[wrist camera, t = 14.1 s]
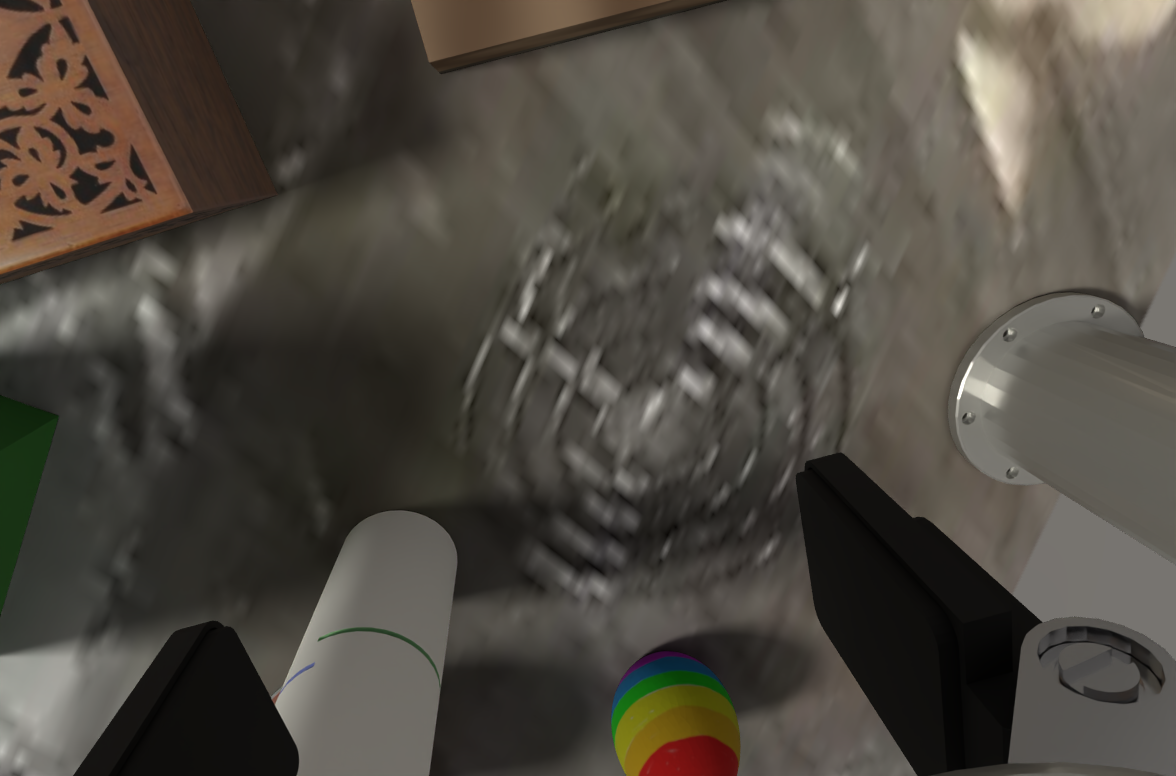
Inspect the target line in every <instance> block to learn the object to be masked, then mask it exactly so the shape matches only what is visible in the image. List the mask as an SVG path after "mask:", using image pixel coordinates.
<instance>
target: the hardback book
mask: <svg viewBox="0 0 1176 776" xmlns="http://www.w3.org/2000/svg"><path fill="white" fill-rule="evenodd" d="M58 418H59V416H57V415H55V414H52V413H49V412H46V411H44V410H41V409H38V408H35V407H32V406H30V405H27V404H24V403H21V402H18V401H16V400H13V399H10V398H7V397H4V396H2V395H0V615H1V612H2V609H3V605H4V602H5V598H6V595H7V592H8V588H9V585H10V581H11V578H12V575H13V571H14V568H15V564H16V561H17V558H18V554H19V551H20V547H21V544H22V540H23V537H24V534H25V530H26V527H27V523H28V520H29V517H30V513H31V510H32V506H33V503H34V500H35V496H36V493H37V489H38V486H39V483H40V479H41V476H42V472H43V469H44V466H45V462H46V459H47V455H48V452H49V448H50V445H51V442H52V438H53V435H54V431H55V428H56V425H57V421H58Z"/></svg>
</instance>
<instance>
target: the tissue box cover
mask: <svg viewBox="0 0 1176 776" xmlns="http://www.w3.org/2000/svg"><path fill="white" fill-rule="evenodd" d="M276 195H278V194H277V192H276V190H275V188H274V186H273V183H272V181H271V179H270V177H269V174H268V172H267V170H266V168H265V166H264V163H263V161H262V159H261V157H260V155H259V152H258V150H257V148H256V146H255V143H254V141H253V139H252V137H251V135H250V132H249V130H248V128H247V126H246V124H245V121H244V119H243V117H242V115H241V112H240V110H239V108H238V106H237V104H236V101H235V99H234V97H233V95H232V93H231V90H230V88H229V86H228V84H227V82H226V79H225V77H224V75H223V73H222V70H221V68H220V66H219V64H218V62H217V59H216V57H215V55H214V53H213V51H212V48H211V46H210V44H209V42H208V39H207V37H206V35H205V33H204V31H203V28H202V26H201V24H200V22H199V20H198V17H197V15H196V13H195V11H194V8H193V6H192V4H191V2H190V0H0V284H3V283H6V282H9V281H12V280H15V279H19V278H22V277H25V276H28V275H31V274H34V273H37V272H40V271H43V270H46V269H50V268H53V267H56V266H59V265H62V264H65V263H68V262H71V261H74V260H77V259H81V258H84V257H87V256H90V255H93V254H96V253H99V252H102V251H105V250H108V249H112V248H115V247H118V246H121V245H124V244H127V243H130V242H133V241H136V240H139V239H143V238H146V237H149V236H152V235H155V234H158V233H161V232H164V231H167V230H170V229H174V228H177V227H180V226H183V225H186V224H189V223H192V222H195V221H198V220H201V219H205V218H208V217H211V216H214V215H217V214H220V213H223V212H226V211H229V210H233V209H236V208H239V207H242V206H245V205H248V204H251V203H254V202H257V201H260V200H264V199H267V198H270V197H273V196H276Z"/></svg>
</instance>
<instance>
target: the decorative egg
mask: <svg viewBox="0 0 1176 776" xmlns="http://www.w3.org/2000/svg"><path fill="white" fill-rule="evenodd" d="M611 726H612V735H613V741H614V746H615V749H616V752H617V756H618V758H619V761H620V763H621V765H622V768H623V770H624V772H625V774H626V775H627V776H737V772H738V767H739V761H740V733H739V726H738V721H737V716H736V713H735V710H734V707H733V704H732V701H731V699H730V697H729V695H728V693H727V691H726V689H725V688H724V686H723V684H722V683H721V681H720V680H719V679H718V678H717V676H716V675H715V674H714V673H713V672H712V671H711V670H710V669H709V668H708V667H707V666H705V665H704V664H703V663H701V662H700V661H698V660H697V659H695V658H693V657H691V656H688V655H686V654H683V653H679V652H673V651H662V652H656V653H653V654H650V655H647V656H645V657H643V658H641V659H640V660H638V661H637V662H636V663H635V664H634V665H632V666H631V667H630V668H629V670H628V671H627V672H626V673H625V675H624V676H623V678H622V679H621V681H620V683H619V685H618V688H617V690H616V693H615V696H614V700H613V705H612V714H611Z"/></svg>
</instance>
